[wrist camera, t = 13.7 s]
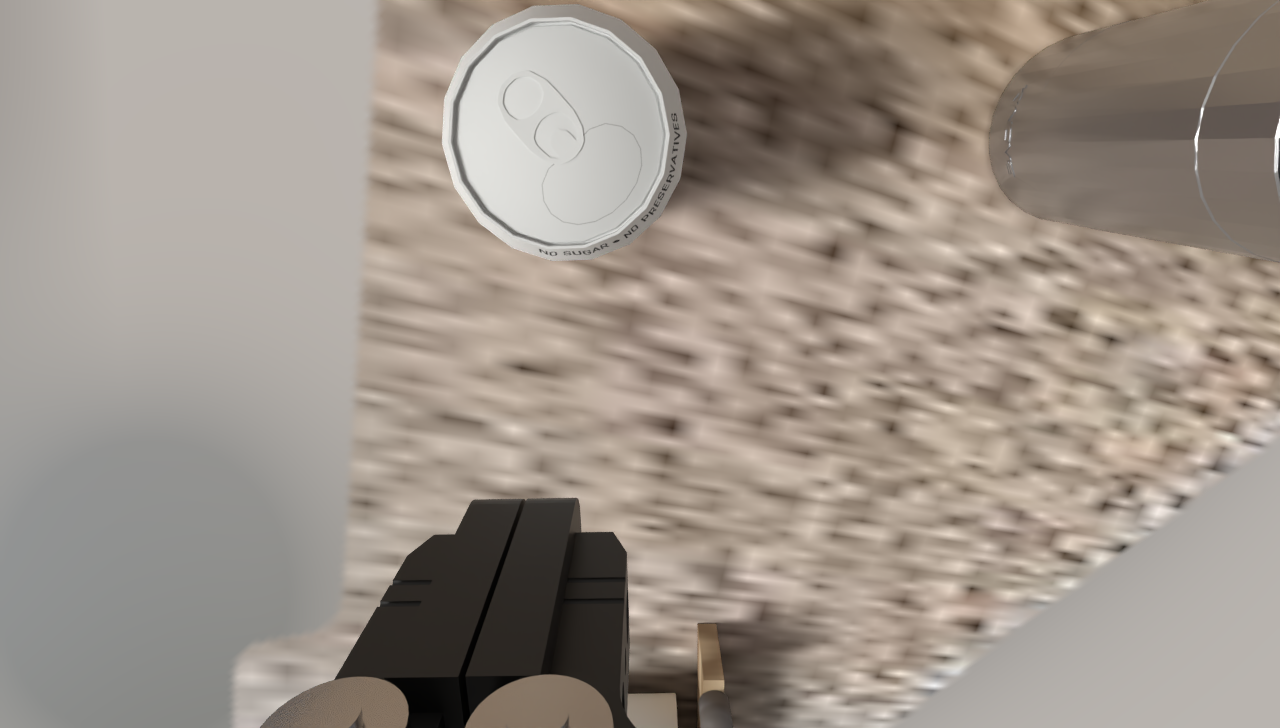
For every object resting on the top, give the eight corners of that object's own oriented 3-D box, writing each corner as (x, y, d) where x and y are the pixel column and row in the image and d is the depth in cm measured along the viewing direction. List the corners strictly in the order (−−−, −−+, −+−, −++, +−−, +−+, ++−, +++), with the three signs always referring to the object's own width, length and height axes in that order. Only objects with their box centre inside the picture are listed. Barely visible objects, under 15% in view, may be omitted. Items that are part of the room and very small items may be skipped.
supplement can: (704, 147, 36) (742, 147, 22) (589, 253, 38) (554, 317, 23) (598, 20, 34) (563, -72, 20) (482, 137, 36) (374, 130, 22)
